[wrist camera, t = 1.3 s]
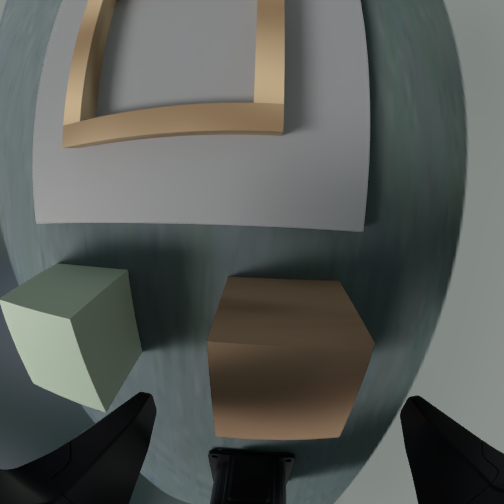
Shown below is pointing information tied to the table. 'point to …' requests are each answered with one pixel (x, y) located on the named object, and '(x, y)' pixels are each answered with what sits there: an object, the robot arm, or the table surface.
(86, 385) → the sage block
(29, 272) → the table surface
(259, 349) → the walnut block
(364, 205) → the baseplate
